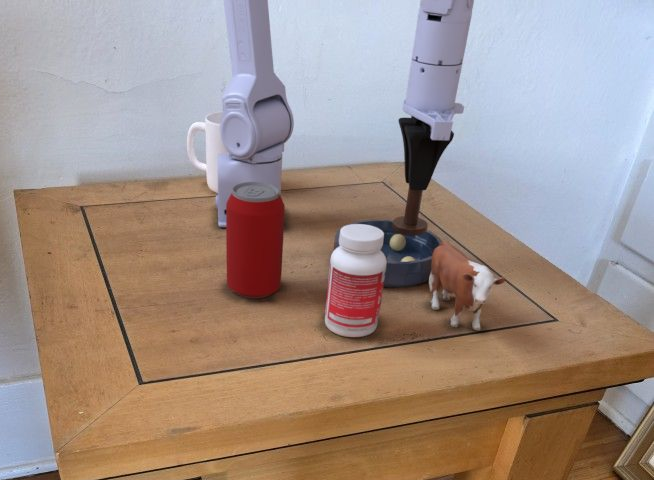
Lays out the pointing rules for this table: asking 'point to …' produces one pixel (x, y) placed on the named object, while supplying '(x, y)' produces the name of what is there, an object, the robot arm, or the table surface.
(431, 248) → the bowl
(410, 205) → the brown peg stand
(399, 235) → the bead
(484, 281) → the bull figurine
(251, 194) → the beverage can
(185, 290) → the table surface
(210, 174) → the cup
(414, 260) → the bead
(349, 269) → the pill bottle
